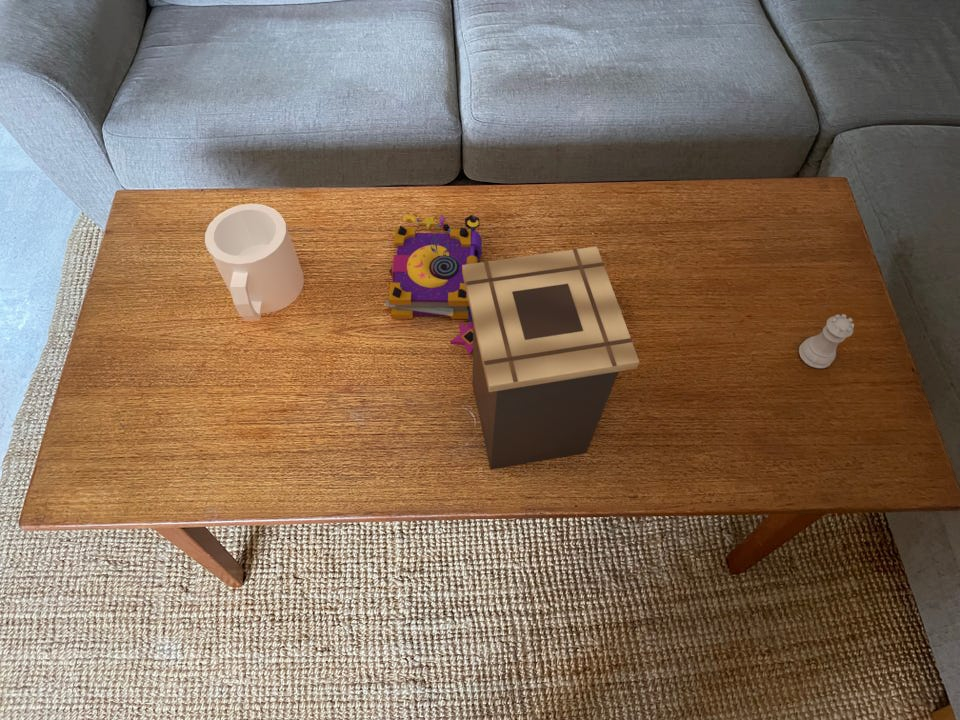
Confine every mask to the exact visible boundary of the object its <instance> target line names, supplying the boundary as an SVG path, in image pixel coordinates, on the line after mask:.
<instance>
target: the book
mask: <svg viewBox="0 0 960 720" xmlns="http://www.w3.org/2000/svg"><path fill="white" fill-rule="evenodd" d="M436 218H437V217H436V215H433V216H431V217H428V216H426V215H425V214H423V219H424V220H420V219H418V218H417V216H415V215H413V214H406V215H405V216H403V218H402V221H403V223H405V222H406V221H409V220H410V221H412V223H413V224H415V223H416V222H417V223H418V226H425V227H426V229H427V231H429V230H430V228H431V227H441V228H442V230H443V231H444V232H440V233H438V232H417V230H416V227H413V226H411V227H410V226H407V227H406V226H402V225H400V226H395V228H394V229H395V230H394V239H393V246H394V249H396V254H393V260H392V266H391V268H390V269H389V274H390V275H391V276H390V277H391V279H392V282H389V290H388V299H387V300H386V301H385V302H384V304H382V307H385V308H391V309H390V310H391V312H390V317H391V319H400V320H403V319H404V320H405V319H406V320H407V319H408V320H413V319H414V316H417V317H419V316H421V317H423V316H424V317H450V320H467V323H466V324H463V323H461V322H458V328H459V331H460V334H458V335H457V336H456V337H454V338H453V339H451V340H450V341H449V342H450V343H449V344H450V345H454V346H463V347H464V348H465V350H466V353H467V355H468V357H471V355H473V318H472V314H471V309H470V305H469V300H468V296H467V291H466V287H465V283H464V278H463V274H462V265H466V264H473V263H479V261H480V259H481V258H482V254H483V239H482V235H481V234H480V232H478V231H477V230H476V229H477V228H479V227H480V218H479V217H477V216H475V215H473V214H471V215H469V216H467V217H465V218H464V225H465V227H460V228H451V227H450V225H449V224H447V223H444V222H445V220H446V218H445V217H444V216H443V215H442V216H440V217H439V223H438V222H436V221H435V220H436Z"/></svg>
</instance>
